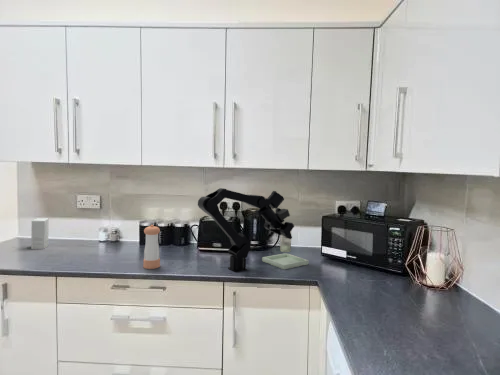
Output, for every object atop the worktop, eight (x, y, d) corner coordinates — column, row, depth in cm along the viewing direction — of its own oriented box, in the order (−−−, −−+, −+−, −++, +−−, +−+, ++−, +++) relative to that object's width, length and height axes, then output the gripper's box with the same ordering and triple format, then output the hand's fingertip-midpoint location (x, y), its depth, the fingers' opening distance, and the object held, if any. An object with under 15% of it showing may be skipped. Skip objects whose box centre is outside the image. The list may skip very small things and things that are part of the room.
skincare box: (35, 246, 184) (35, 218, 184) (49, 245, 186) (49, 217, 186) (30, 249, 176) (30, 220, 176) (45, 249, 178) (44, 220, 178)
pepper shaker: (155, 269, 147) (155, 226, 146) (140, 268, 149) (140, 225, 148) (162, 265, 154) (163, 224, 153) (148, 263, 156) (148, 223, 155)
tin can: (290, 252, 159) (291, 229, 159) (279, 251, 160) (280, 229, 160) (291, 250, 165) (292, 227, 164) (280, 249, 166) (281, 227, 165)
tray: (283, 269, 152) (283, 265, 152) (262, 261, 165) (262, 257, 165) (308, 264, 161) (308, 260, 161) (286, 256, 174) (286, 253, 174)
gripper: (291, 205, 151) (309, 228, 157) (269, 201, 168) (287, 222, 174) (276, 223, 148) (295, 246, 154) (255, 217, 164) (273, 238, 170)
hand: (288, 237), depth 163 cm, fingers closed on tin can, 5 cm apart
